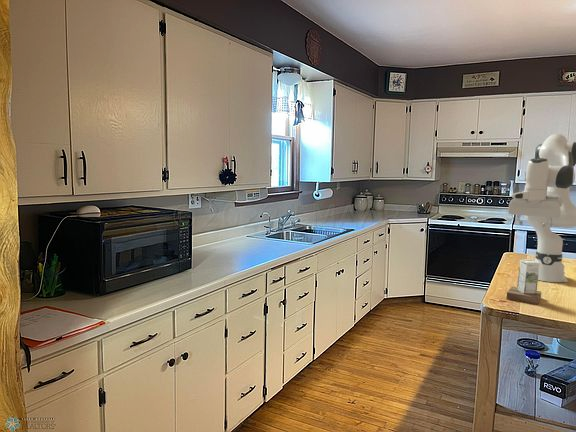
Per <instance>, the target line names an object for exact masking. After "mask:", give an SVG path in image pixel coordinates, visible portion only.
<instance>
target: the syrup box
mask: <svg viewBox="0 0 576 432" xmlns="http://www.w3.org/2000/svg"><path fill="white" fill-rule="evenodd" d="M539 266H540V263H539V262H537V261H535V259H519V267H518V276H517V284H516V285H517V286H516V287H517V290H518V291H519V292H521V293H523V294H536V292H537V291H538V282H539V280H538V275H539Z"/></svg>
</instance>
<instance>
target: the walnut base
mask: <svg viewBox="0 0 576 432" xmlns="http://www.w3.org/2000/svg"><path fill="white" fill-rule="evenodd" d="M541 299H542V291H538V290H537V292H536V294H523V293H521V292H519V291H518V290H517V286H511V287H510V288H509V289H508V291H506V300H509V301H510V300H511V301H515V302H521V303H524V304H525V303H526V304H531V305H535V306H537V305H538V304H539V302H540V301H541Z"/></svg>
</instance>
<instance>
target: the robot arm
mask: <svg viewBox="0 0 576 432" xmlns="http://www.w3.org/2000/svg"><path fill="white" fill-rule="evenodd" d="M533 156H534V158H531V159H529V160H528V162H527V166H526V170H525V173H524V181H525V185H524V189H523V190H522V191H519V192H514V193H512V196H511V197H512V199H511V200H510V201H509V203H508V208H507V209H508V210H507V213H508V214H509V215H512V216H513V215H514V216H515V217H516V219H517V221H518V226H523V225H524V220H521V217H522V216H523V217H524V219H525V221H526V223H528V224H529V225H530V226H531V227H532V228H533V229H534V231H535V233H536V236H537V247H536V248H537V249H536V252H535V259H534V260H535V261H537V262H539V263H540V266H539V275H538V281H542V282H548V283H569V281H568V279H567V277H566V276H565V274H566V272H565V265H564V263H563V262H562V261H563V253H562V252H563V244H564V243H563V242H564V241H563V238H562V236H560V235H559V234H557V233H556V232H553V231H552V230H551V228H552V227H553V228H562V229H571V228H576V206H575V205H574V203H573V202H572V200H571V197H570V188H571V187H572V186H573V184H574V183H575V180H576V172H575V170H574V167H575V166H576V141H574V142H568V139H567V138H566V136H564V135H563V134H560V133H554V134H551V135H548V137H547V138H546V139H545V140H544V141H543V142H542V143H540V144H538V145H537V146H536V147H535V149H534V153H533Z"/></svg>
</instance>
